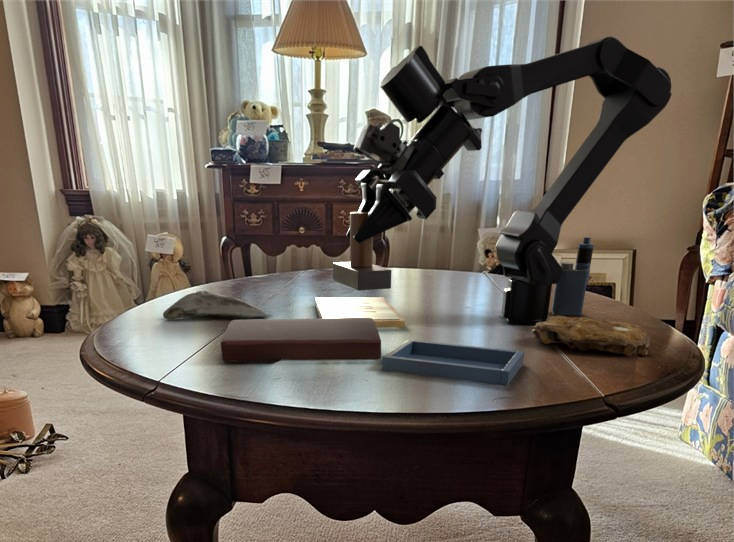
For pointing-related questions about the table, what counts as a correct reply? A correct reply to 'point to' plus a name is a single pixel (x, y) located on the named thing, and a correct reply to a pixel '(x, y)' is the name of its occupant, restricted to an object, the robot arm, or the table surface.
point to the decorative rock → (593, 334)
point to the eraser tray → (454, 361)
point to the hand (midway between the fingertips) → (352, 239)
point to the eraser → (361, 263)
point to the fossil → (210, 306)
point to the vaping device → (573, 283)
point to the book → (301, 340)
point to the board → (360, 310)
